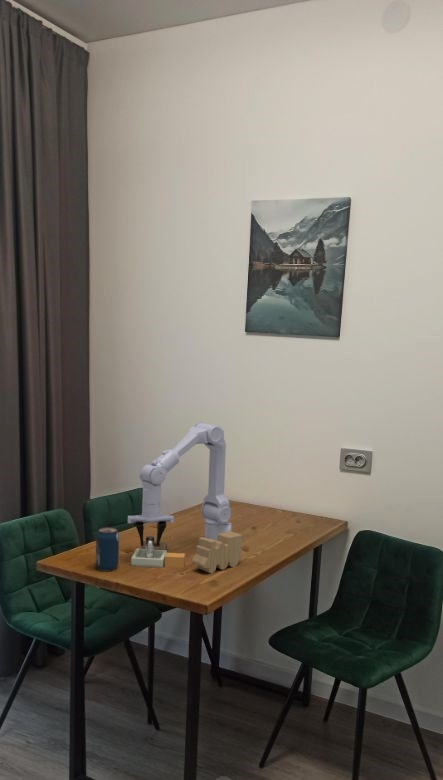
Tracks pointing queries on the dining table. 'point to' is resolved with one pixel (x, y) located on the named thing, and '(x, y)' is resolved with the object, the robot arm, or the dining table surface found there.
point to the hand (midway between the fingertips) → (149, 544)
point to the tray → (141, 561)
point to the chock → (175, 560)
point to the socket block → (161, 546)
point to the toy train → (218, 552)
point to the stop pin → (149, 547)
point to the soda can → (107, 549)
